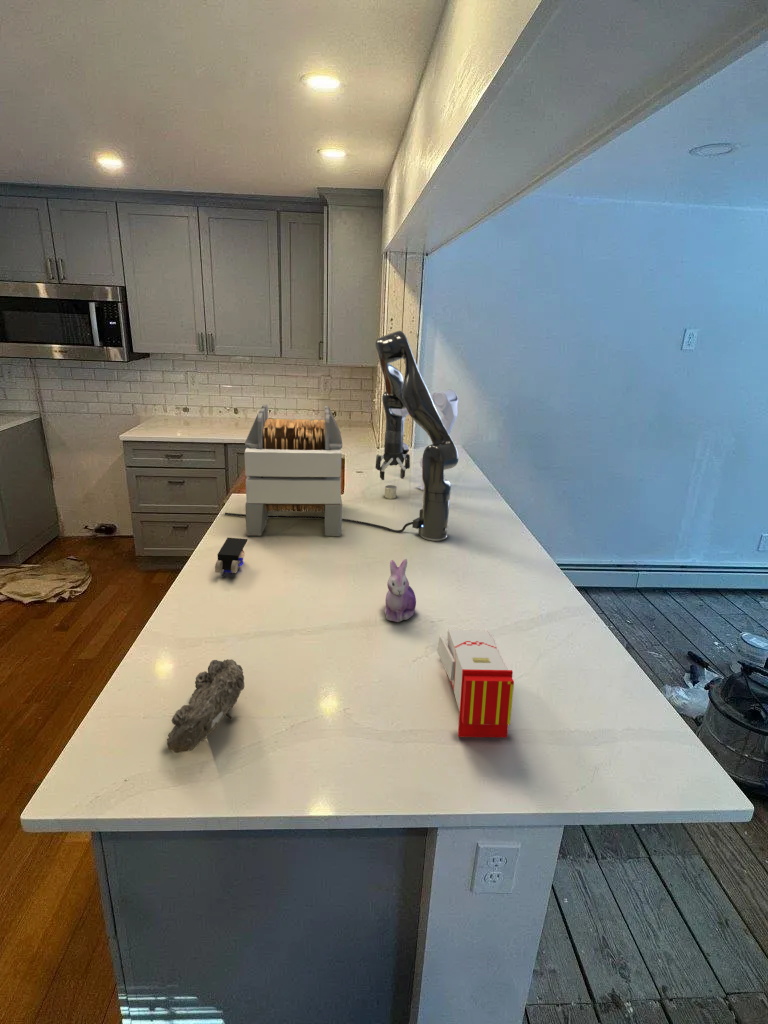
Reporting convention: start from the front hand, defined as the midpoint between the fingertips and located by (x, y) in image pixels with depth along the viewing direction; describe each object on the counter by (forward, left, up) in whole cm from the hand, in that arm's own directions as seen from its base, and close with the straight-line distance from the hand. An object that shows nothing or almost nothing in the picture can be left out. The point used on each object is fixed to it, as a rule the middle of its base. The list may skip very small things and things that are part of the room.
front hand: (392, 479), depth 236 cm
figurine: (+57, -78, -8) cm, 97 cm away
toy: (+86, -95, -8) cm, 129 cm away
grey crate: (-11, -46, -8) cm, 48 cm away
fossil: (+51, -133, -8) cm, 143 cm away
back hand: (-13, +21, +1) cm, 25 cm away
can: (0, 0, -8) cm, 8 cm away
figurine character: (+4, -88, -8) cm, 89 cm away
